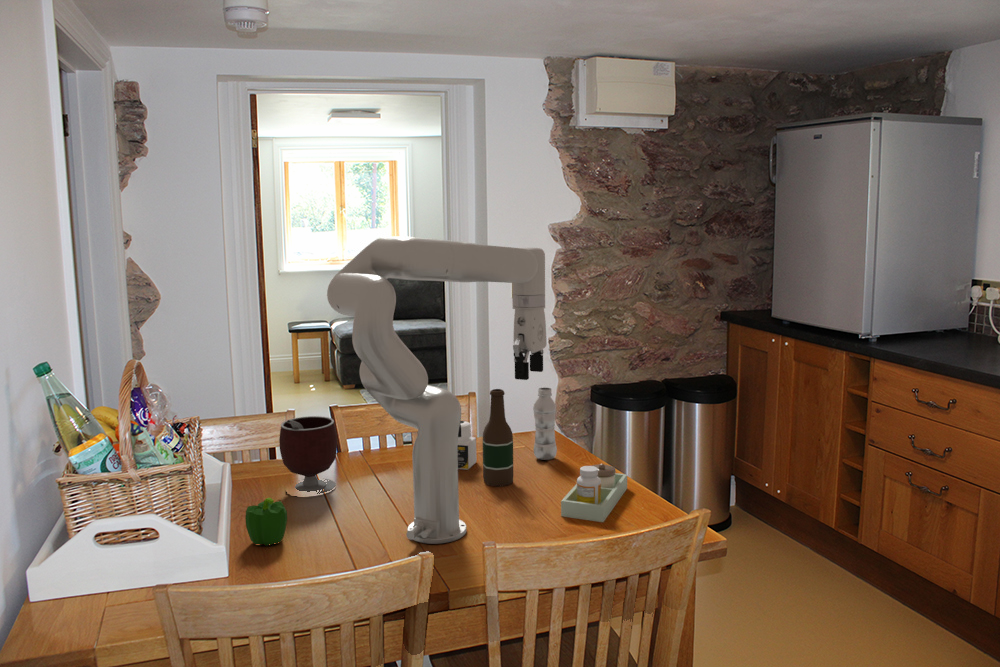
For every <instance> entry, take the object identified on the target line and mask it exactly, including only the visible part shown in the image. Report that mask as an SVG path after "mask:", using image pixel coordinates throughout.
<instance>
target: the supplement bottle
mask: <svg viewBox="0 0 1000 667" xmlns="http://www.w3.org/2000/svg"><path fill="white" fill-rule="evenodd" d="M597 475H598V468H597V467H594V466H593V465H584V466H581V467H580V468H579V476H578V477H577V479H576V484H577V502H583V503H591V504H598V505H601V480H600V478H599V477H597Z"/></svg>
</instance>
